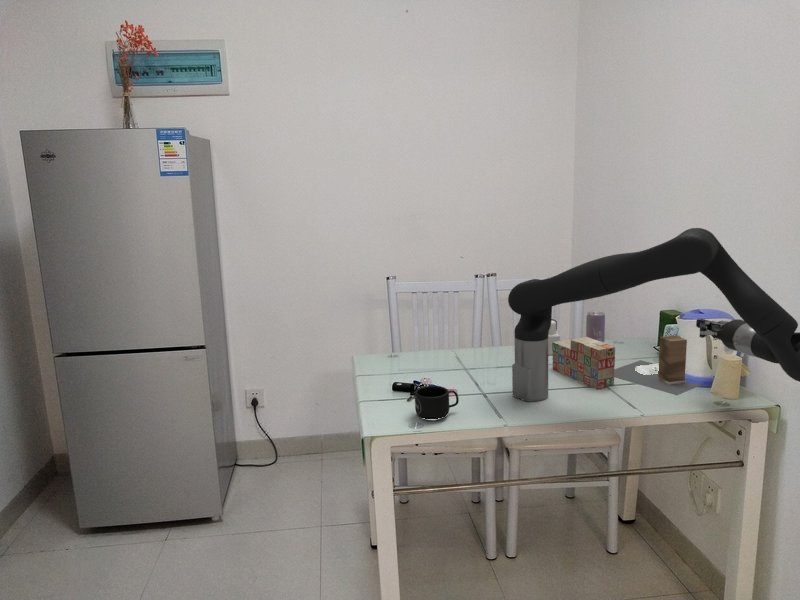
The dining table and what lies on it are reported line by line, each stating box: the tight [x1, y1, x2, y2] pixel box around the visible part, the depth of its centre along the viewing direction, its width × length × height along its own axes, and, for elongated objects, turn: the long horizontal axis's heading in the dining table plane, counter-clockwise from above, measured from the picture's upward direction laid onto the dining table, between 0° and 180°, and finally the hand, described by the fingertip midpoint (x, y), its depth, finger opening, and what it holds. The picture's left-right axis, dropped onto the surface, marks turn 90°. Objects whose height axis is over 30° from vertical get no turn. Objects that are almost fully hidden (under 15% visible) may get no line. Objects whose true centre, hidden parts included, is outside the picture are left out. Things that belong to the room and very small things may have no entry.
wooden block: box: [658, 335, 688, 385], centre depth 157 cm, size 5×5×13 cm
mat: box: [614, 359, 701, 396], centre depth 163 cm, size 20×24×1 cm
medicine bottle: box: [548, 318, 561, 356], centre depth 192 cm, size 7×7×12 cm
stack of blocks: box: [552, 336, 616, 391], centre depth 165 cm, size 21×6×12 cm, turn 21°
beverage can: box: [585, 311, 606, 343], centre depth 185 cm, size 6×6×15 cm
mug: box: [414, 385, 459, 420], centre depth 143 cm, size 12×9×7 cm
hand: (698, 322), depth 144 cm, fingers closed
